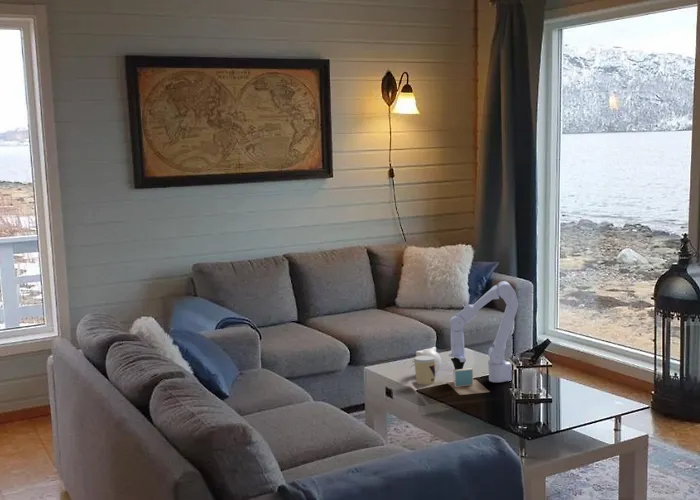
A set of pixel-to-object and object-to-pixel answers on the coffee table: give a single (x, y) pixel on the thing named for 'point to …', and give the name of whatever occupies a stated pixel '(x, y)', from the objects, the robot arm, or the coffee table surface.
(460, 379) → the tile
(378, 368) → the coffee table surface
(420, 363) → the coffee cup
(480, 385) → the board
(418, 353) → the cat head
